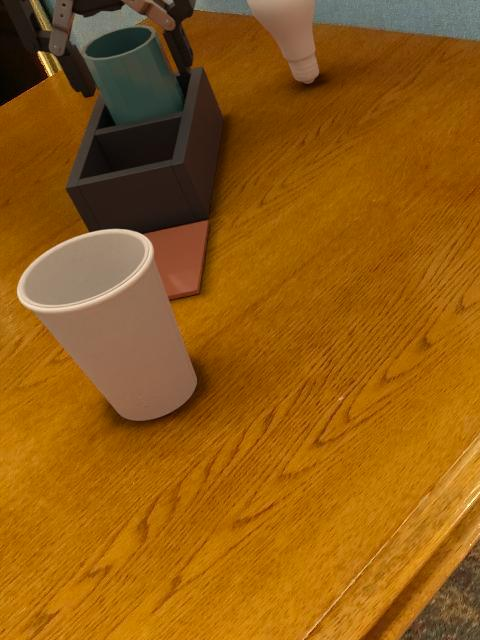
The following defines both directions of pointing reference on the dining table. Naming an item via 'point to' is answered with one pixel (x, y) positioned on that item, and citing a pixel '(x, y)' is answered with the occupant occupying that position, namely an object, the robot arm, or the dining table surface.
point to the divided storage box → (149, 164)
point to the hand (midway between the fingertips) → (138, 82)
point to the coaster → (180, 257)
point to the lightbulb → (291, 32)
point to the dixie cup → (113, 320)
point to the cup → (133, 74)
